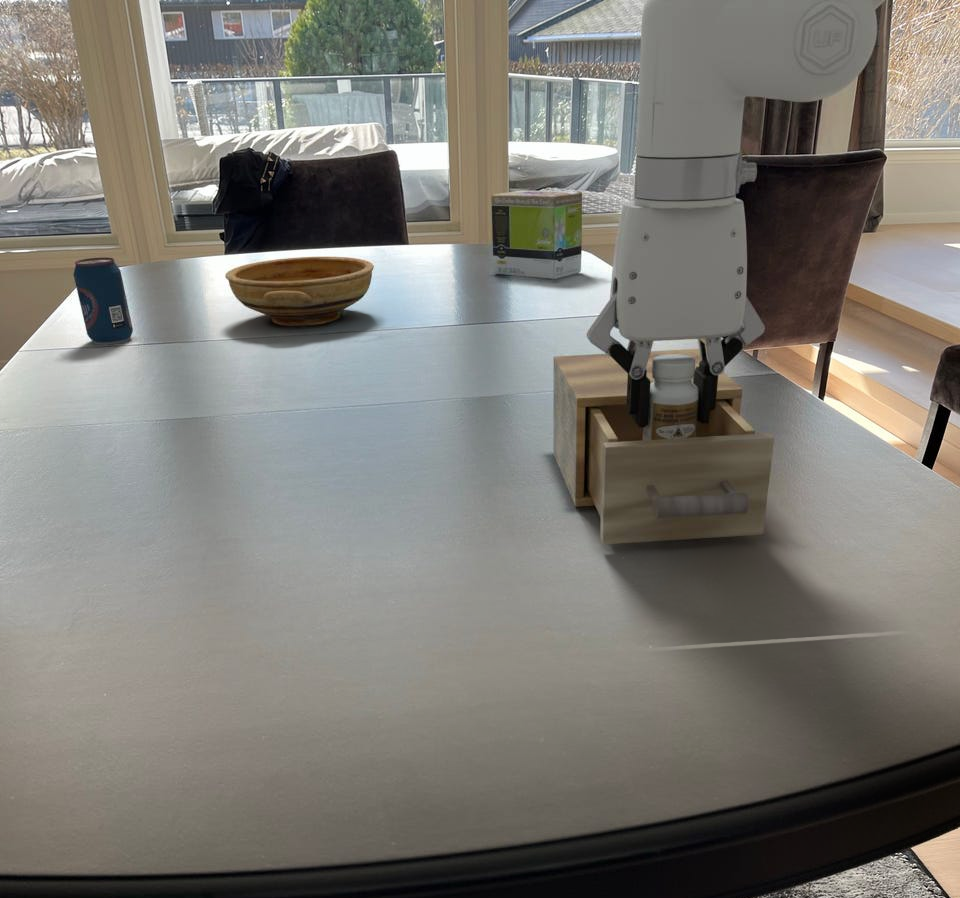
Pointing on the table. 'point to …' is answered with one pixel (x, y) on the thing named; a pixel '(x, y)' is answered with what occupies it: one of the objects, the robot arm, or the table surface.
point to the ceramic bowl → (301, 287)
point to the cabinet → (599, 386)
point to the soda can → (103, 300)
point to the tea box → (537, 233)
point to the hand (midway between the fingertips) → (669, 418)
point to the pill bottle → (672, 399)
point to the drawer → (676, 477)
